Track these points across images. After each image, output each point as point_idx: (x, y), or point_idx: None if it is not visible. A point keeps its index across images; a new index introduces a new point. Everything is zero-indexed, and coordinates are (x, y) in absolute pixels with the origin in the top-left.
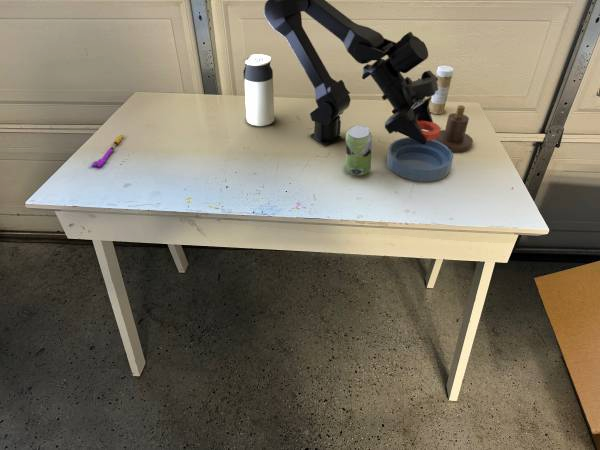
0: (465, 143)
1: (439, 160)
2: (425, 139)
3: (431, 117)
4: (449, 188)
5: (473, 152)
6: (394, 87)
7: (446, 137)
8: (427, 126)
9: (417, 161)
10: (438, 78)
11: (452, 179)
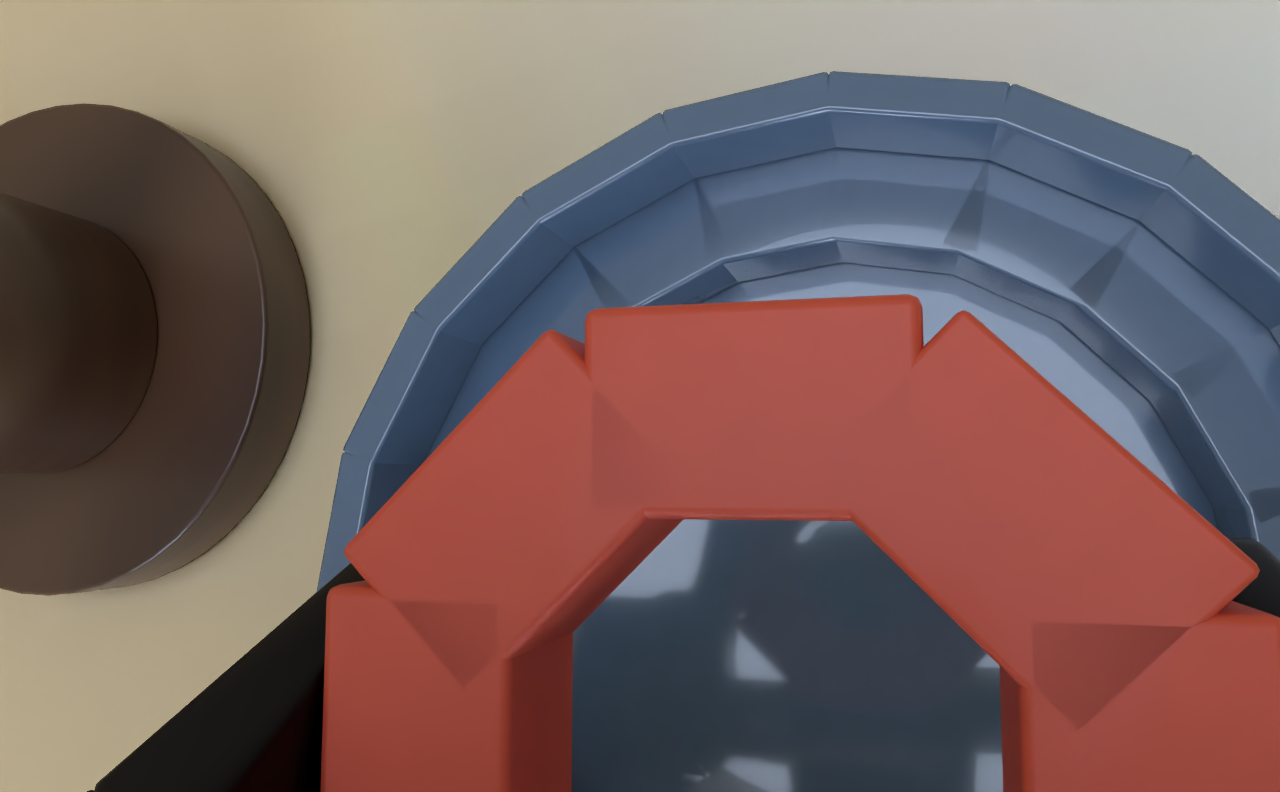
0: (108, 169)
1: None
2: (1275, 595)
3: (145, 751)
4: (1219, 27)
5: (202, 69)
6: None
7: (100, 413)
8: (532, 735)
9: (783, 634)
10: None
11: (955, 71)
